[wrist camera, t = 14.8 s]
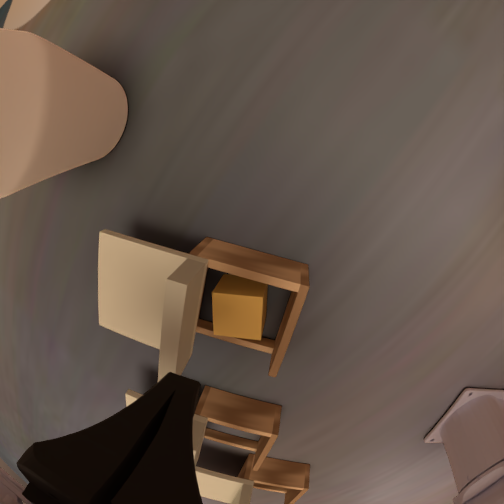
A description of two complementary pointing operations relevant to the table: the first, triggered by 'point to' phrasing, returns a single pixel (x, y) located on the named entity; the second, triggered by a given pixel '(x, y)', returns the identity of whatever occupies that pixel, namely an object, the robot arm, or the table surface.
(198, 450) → the lid
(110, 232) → the lid
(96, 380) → the table surface
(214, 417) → the crates
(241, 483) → the lid
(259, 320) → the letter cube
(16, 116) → the cup
